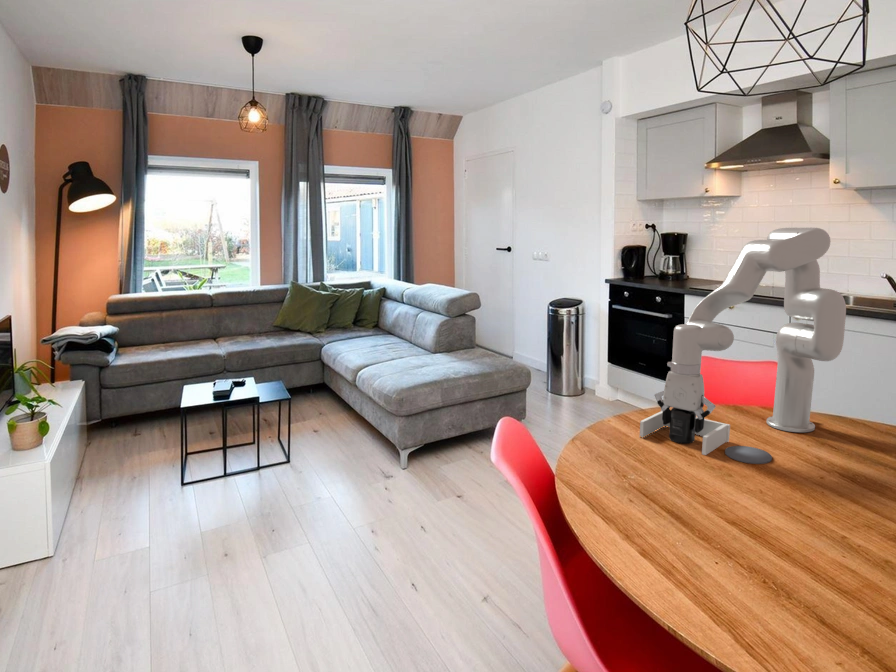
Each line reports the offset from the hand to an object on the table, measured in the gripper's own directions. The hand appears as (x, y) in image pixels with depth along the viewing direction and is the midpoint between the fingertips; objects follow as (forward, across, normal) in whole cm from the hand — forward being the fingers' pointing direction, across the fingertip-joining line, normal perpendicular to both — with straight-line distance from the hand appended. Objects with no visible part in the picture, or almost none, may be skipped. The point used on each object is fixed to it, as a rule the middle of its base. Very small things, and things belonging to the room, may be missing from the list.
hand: (682, 427), depth 161 cm
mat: (+4, +18, +1) cm, 18 cm away
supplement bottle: (+4, 0, 0) cm, 4 cm away
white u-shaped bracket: (+4, 0, 0) cm, 4 cm away
